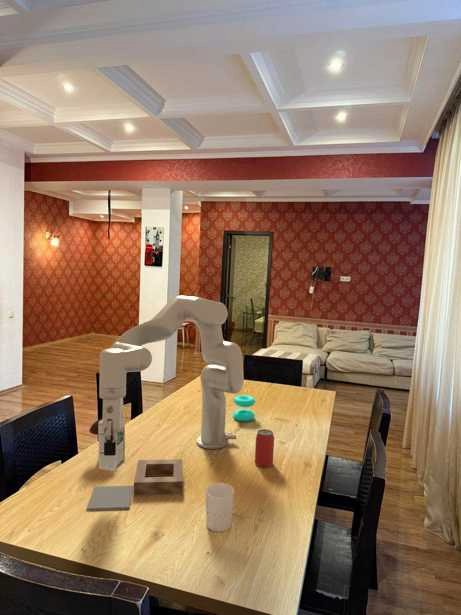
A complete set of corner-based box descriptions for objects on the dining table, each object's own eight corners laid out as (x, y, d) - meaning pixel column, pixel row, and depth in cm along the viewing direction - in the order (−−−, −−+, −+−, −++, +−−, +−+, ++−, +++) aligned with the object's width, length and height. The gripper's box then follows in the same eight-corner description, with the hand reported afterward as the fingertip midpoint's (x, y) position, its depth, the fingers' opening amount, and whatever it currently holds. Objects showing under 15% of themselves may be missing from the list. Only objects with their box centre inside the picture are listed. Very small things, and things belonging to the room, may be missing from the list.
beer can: (274, 461, 158) (276, 430, 156) (270, 469, 151) (272, 437, 150) (257, 458, 160) (258, 427, 158) (252, 466, 153) (254, 433, 152)
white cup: (204, 516, 122) (205, 482, 121) (231, 516, 123) (233, 482, 122) (204, 533, 114) (206, 498, 113) (234, 533, 115) (235, 497, 114)
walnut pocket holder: (182, 470, 148) (182, 459, 148) (182, 493, 133) (183, 481, 133) (137, 471, 146) (138, 460, 146) (133, 495, 131) (133, 482, 131)
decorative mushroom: (95, 450, 160) (95, 411, 159) (124, 452, 160) (124, 413, 159) (84, 464, 150) (84, 422, 148) (115, 466, 149) (116, 424, 148)
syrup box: (116, 471, 125) (117, 423, 123) (97, 468, 126) (98, 421, 124) (124, 462, 130) (125, 416, 129) (106, 460, 131) (107, 414, 130)
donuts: (233, 400, 195) (235, 393, 205) (232, 421, 196) (234, 413, 206) (254, 401, 194) (255, 395, 204) (253, 423, 195) (254, 415, 205)
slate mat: (133, 487, 136) (133, 485, 136) (129, 508, 124) (129, 507, 124) (94, 488, 134) (94, 486, 134) (86, 510, 122) (86, 508, 122)
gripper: (122, 400, 118) (121, 462, 119) (128, 382, 135) (127, 437, 137) (93, 400, 117) (93, 463, 118) (104, 382, 134) (103, 437, 136)
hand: (111, 448), depth 127 cm, fingers closed on syrup box, 7 cm apart
